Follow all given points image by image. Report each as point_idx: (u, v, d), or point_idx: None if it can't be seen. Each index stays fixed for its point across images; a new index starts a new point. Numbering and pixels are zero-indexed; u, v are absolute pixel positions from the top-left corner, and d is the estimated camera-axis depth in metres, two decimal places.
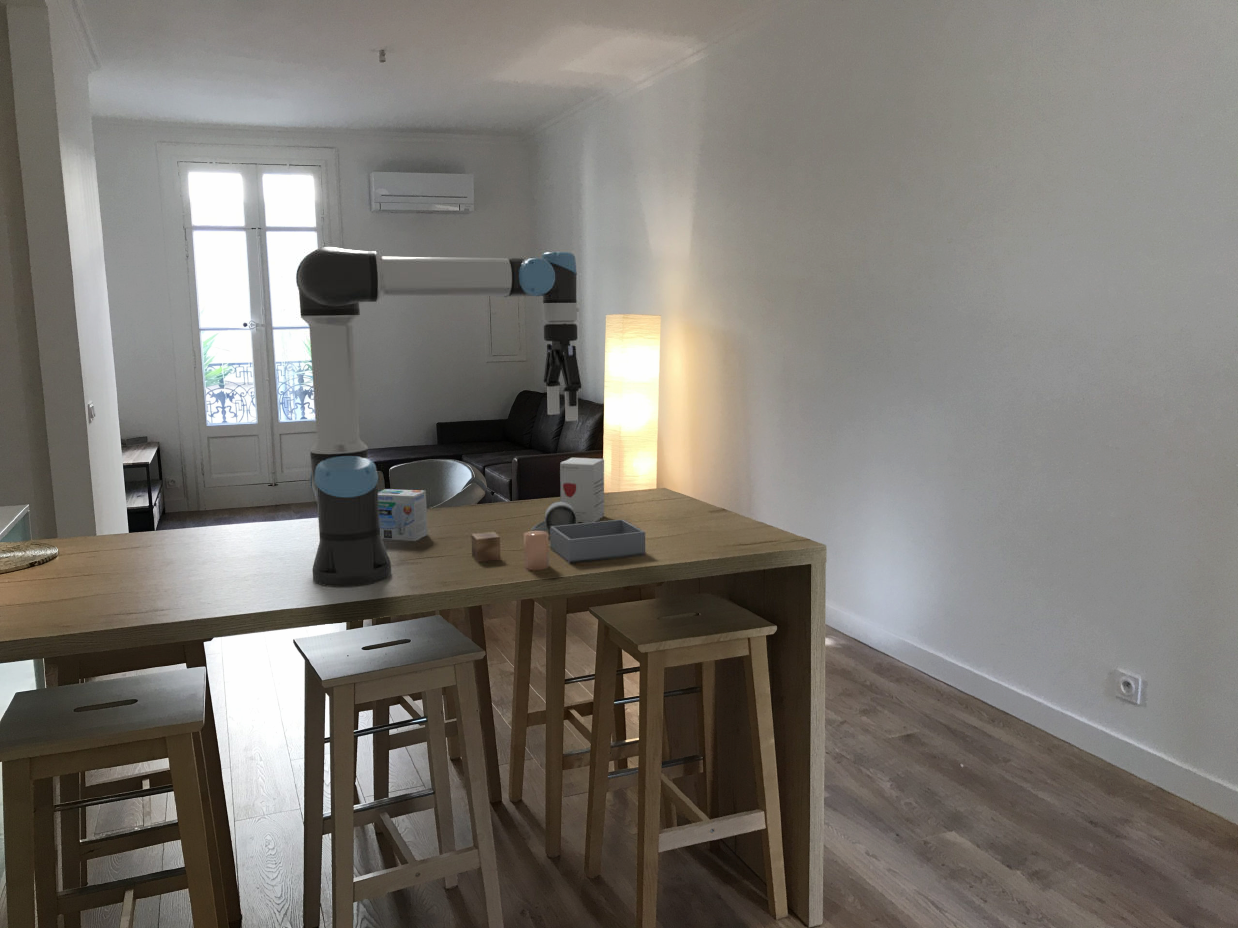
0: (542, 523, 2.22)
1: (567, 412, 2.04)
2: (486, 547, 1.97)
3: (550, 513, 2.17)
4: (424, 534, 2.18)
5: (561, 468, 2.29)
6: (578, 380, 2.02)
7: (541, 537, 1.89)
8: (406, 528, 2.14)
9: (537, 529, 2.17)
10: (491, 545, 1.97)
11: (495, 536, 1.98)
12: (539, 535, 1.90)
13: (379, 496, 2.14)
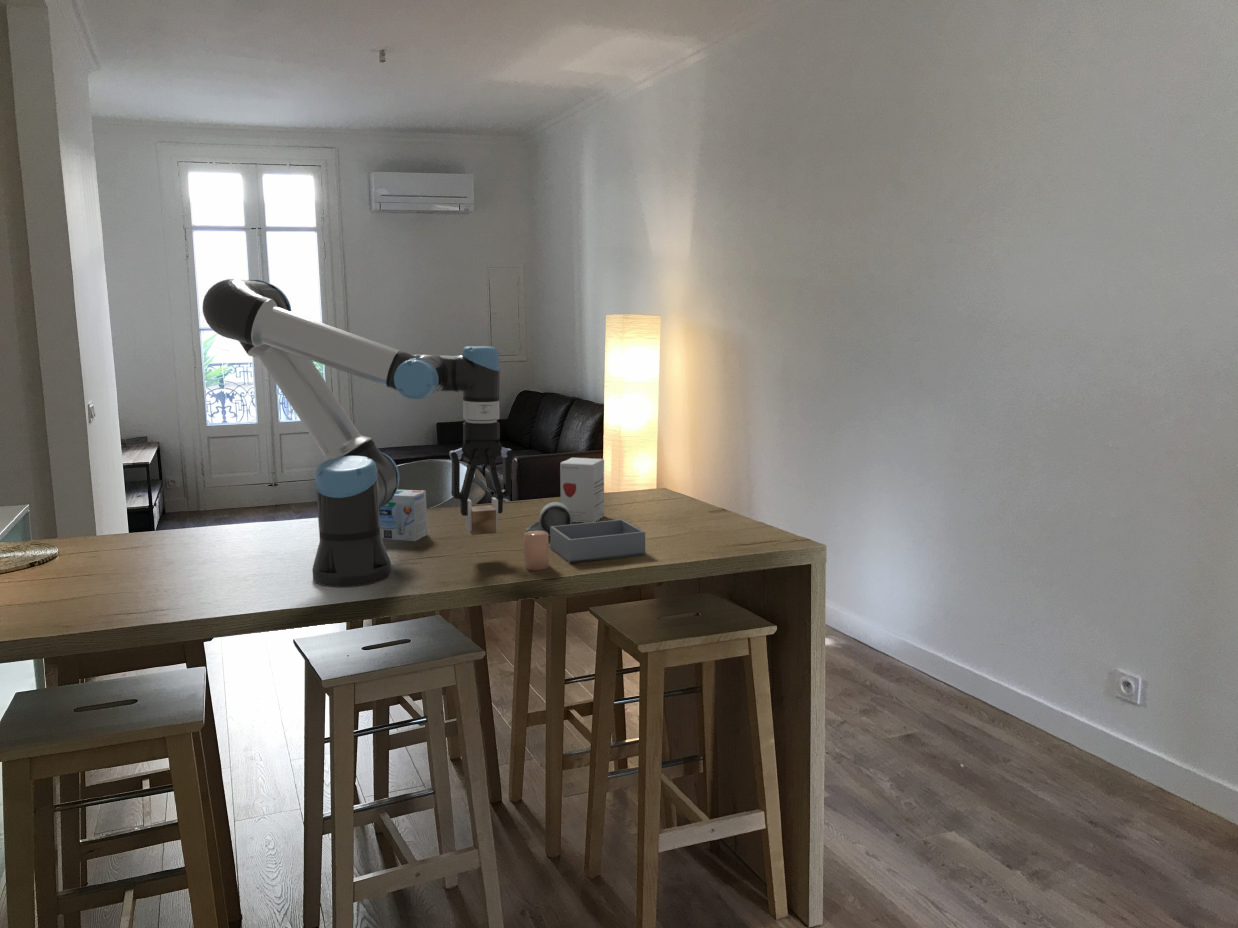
0: (537, 523, 2.22)
1: (465, 520, 1.98)
2: (482, 520, 1.95)
3: (545, 513, 2.17)
4: (424, 534, 2.18)
5: (561, 468, 2.29)
6: (453, 490, 1.94)
7: (541, 537, 1.89)
8: (406, 528, 2.14)
9: (532, 529, 2.17)
10: (487, 518, 1.96)
11: (491, 509, 1.97)
12: (539, 535, 1.90)
13: None
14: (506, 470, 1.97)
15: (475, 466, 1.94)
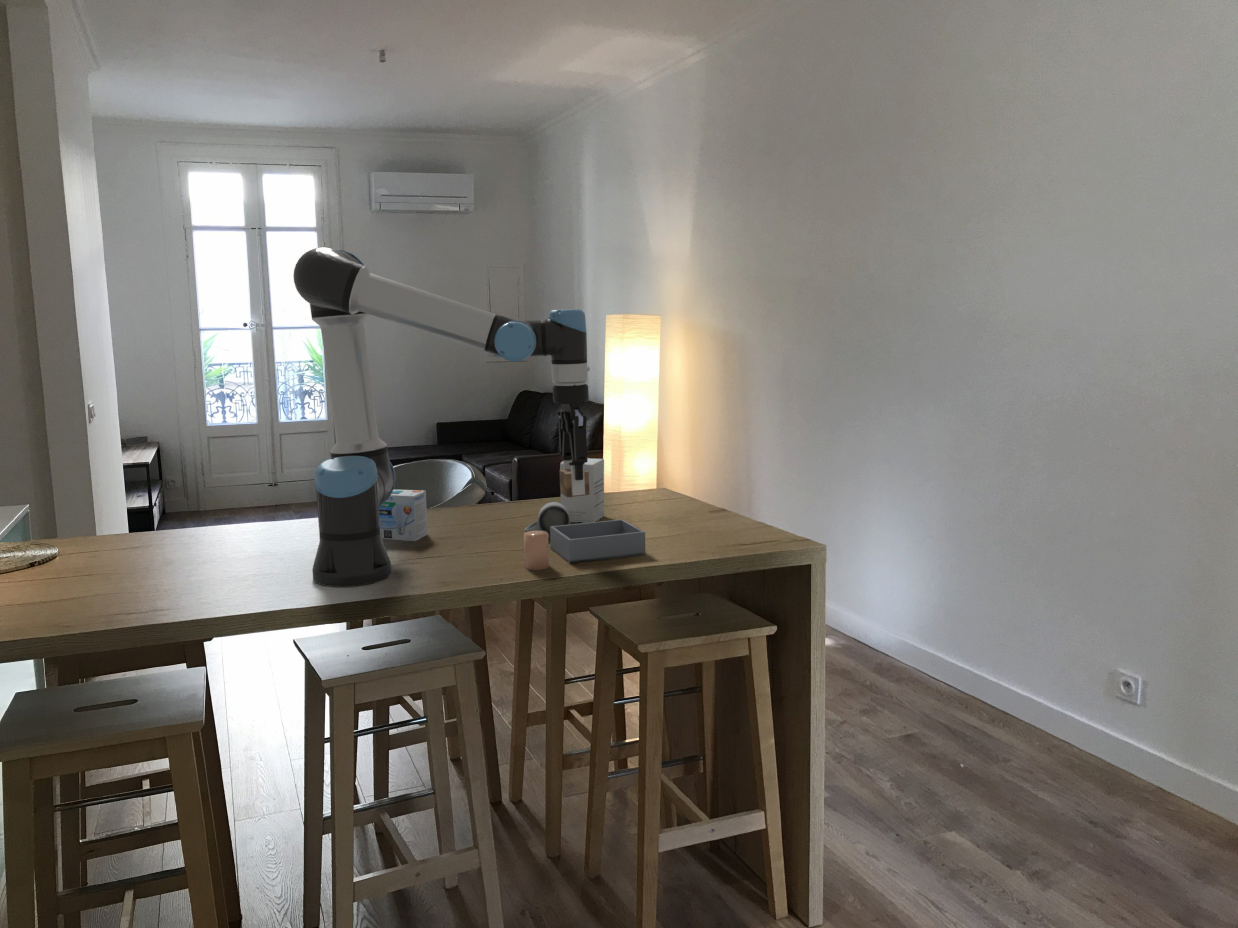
0: (536, 523, 2.22)
1: (573, 486, 1.96)
2: None
3: (543, 513, 2.17)
4: (424, 534, 2.18)
5: (561, 468, 2.29)
6: (585, 455, 1.92)
7: (541, 537, 1.89)
8: (406, 528, 2.14)
9: (530, 529, 2.16)
10: None
11: None
12: (539, 535, 1.90)
13: None
14: None
15: None
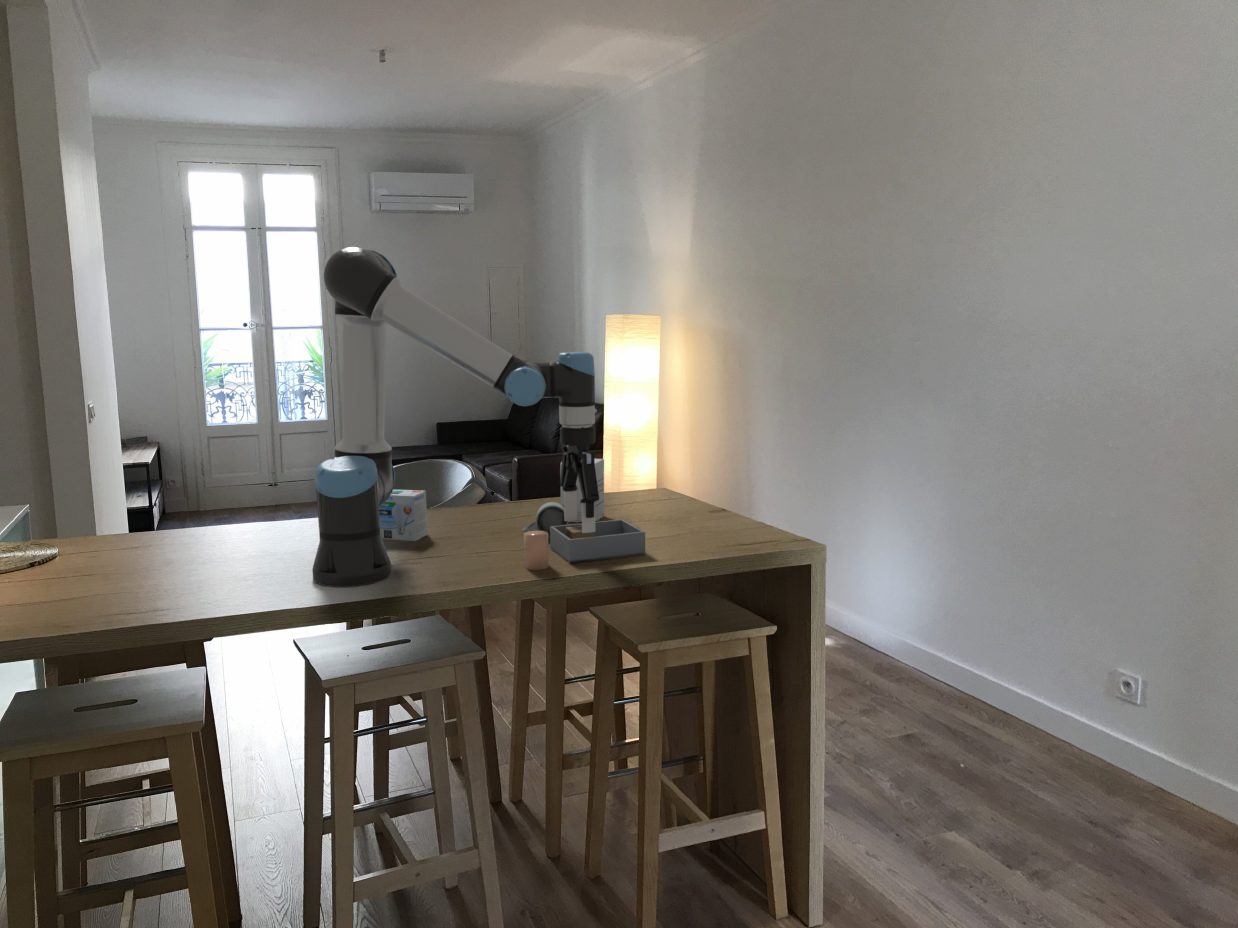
0: (534, 523, 2.21)
1: (584, 523, 1.94)
2: None
3: (541, 513, 2.17)
4: (424, 534, 2.18)
5: (561, 468, 2.29)
6: (596, 492, 1.91)
7: (541, 537, 1.89)
8: (406, 528, 2.14)
9: (528, 529, 2.16)
10: None
11: None
12: (539, 535, 1.90)
13: None
14: None
15: None
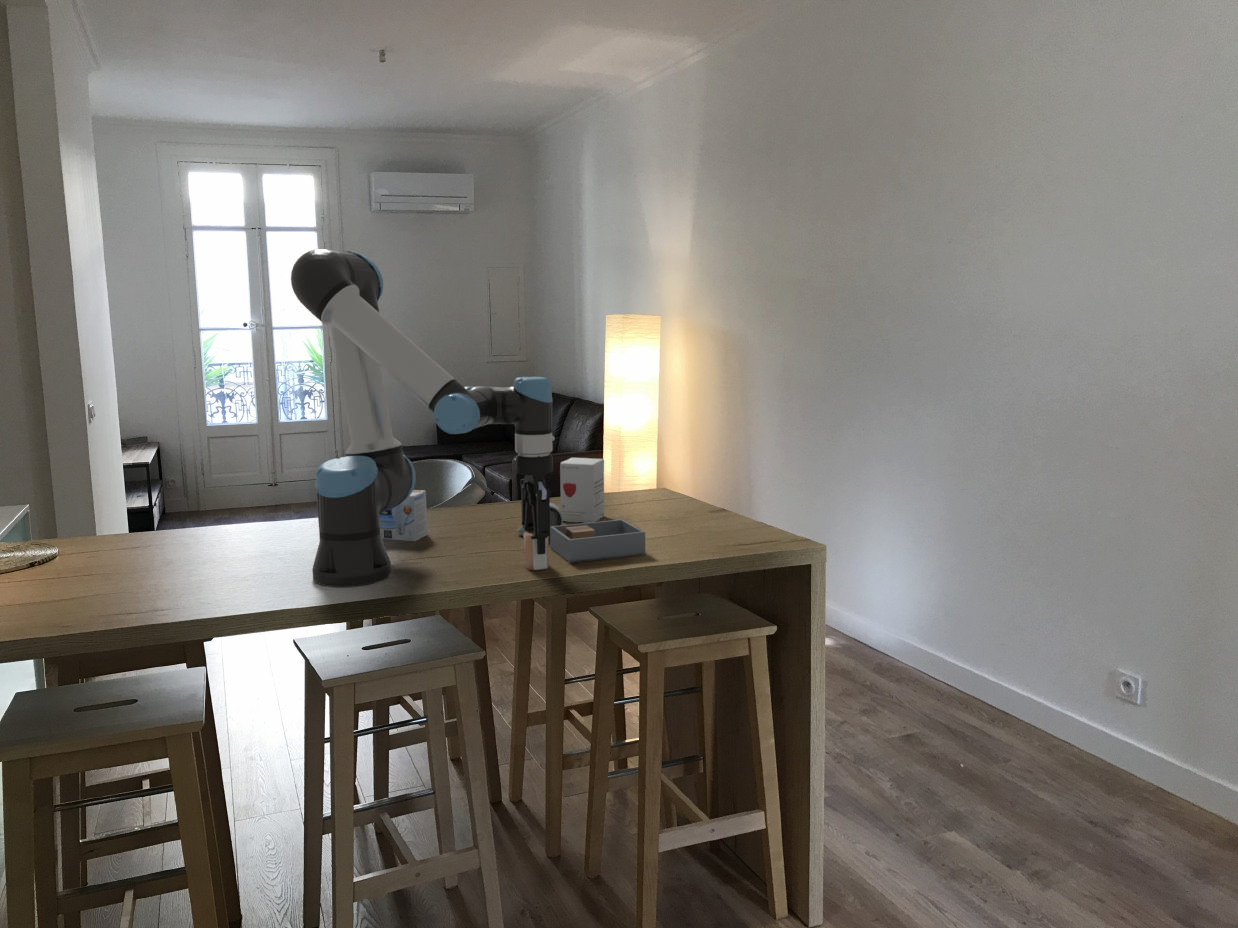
0: None
1: (535, 560, 1.88)
2: None
3: None
4: (424, 534, 2.18)
5: (561, 468, 2.29)
6: (548, 529, 1.85)
7: None
8: (406, 528, 2.14)
9: (523, 529, 2.16)
10: None
11: (584, 526, 2.03)
12: None
13: None
14: None
15: None
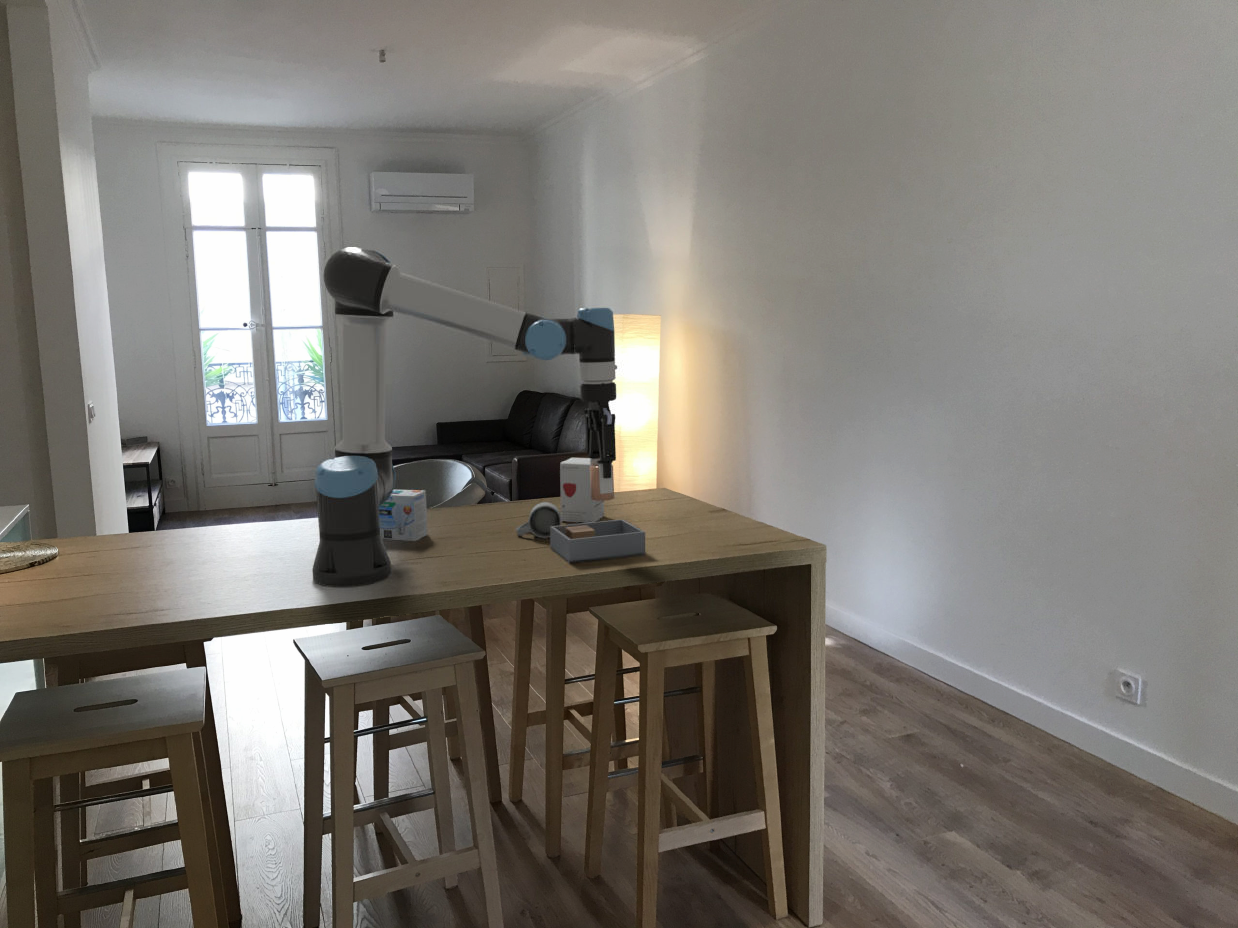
0: (527, 524, 2.21)
1: (601, 484, 1.96)
2: None
3: (534, 514, 2.17)
4: (424, 534, 2.18)
5: (561, 468, 2.29)
6: (613, 453, 1.93)
7: None
8: (406, 528, 2.14)
9: (521, 530, 2.16)
10: None
11: (584, 526, 2.03)
12: None
13: None
14: None
15: None
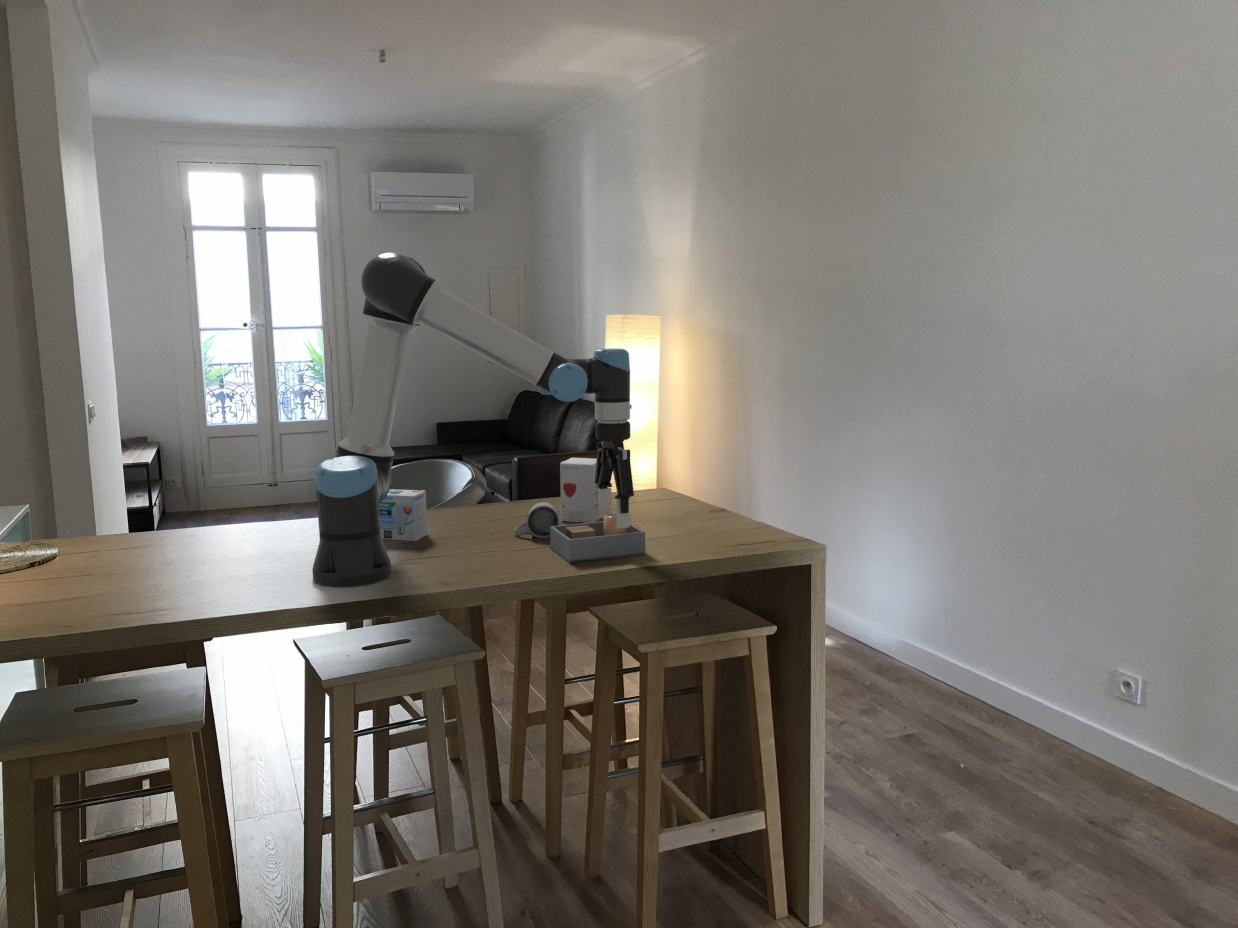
0: (525, 524, 2.21)
1: (618, 519, 1.98)
2: None
3: (532, 514, 2.17)
4: (424, 534, 2.18)
5: (561, 468, 2.29)
6: (631, 488, 1.95)
7: None
8: (406, 528, 2.14)
9: (519, 530, 2.16)
10: None
11: (584, 526, 2.03)
12: None
13: None
14: None
15: None
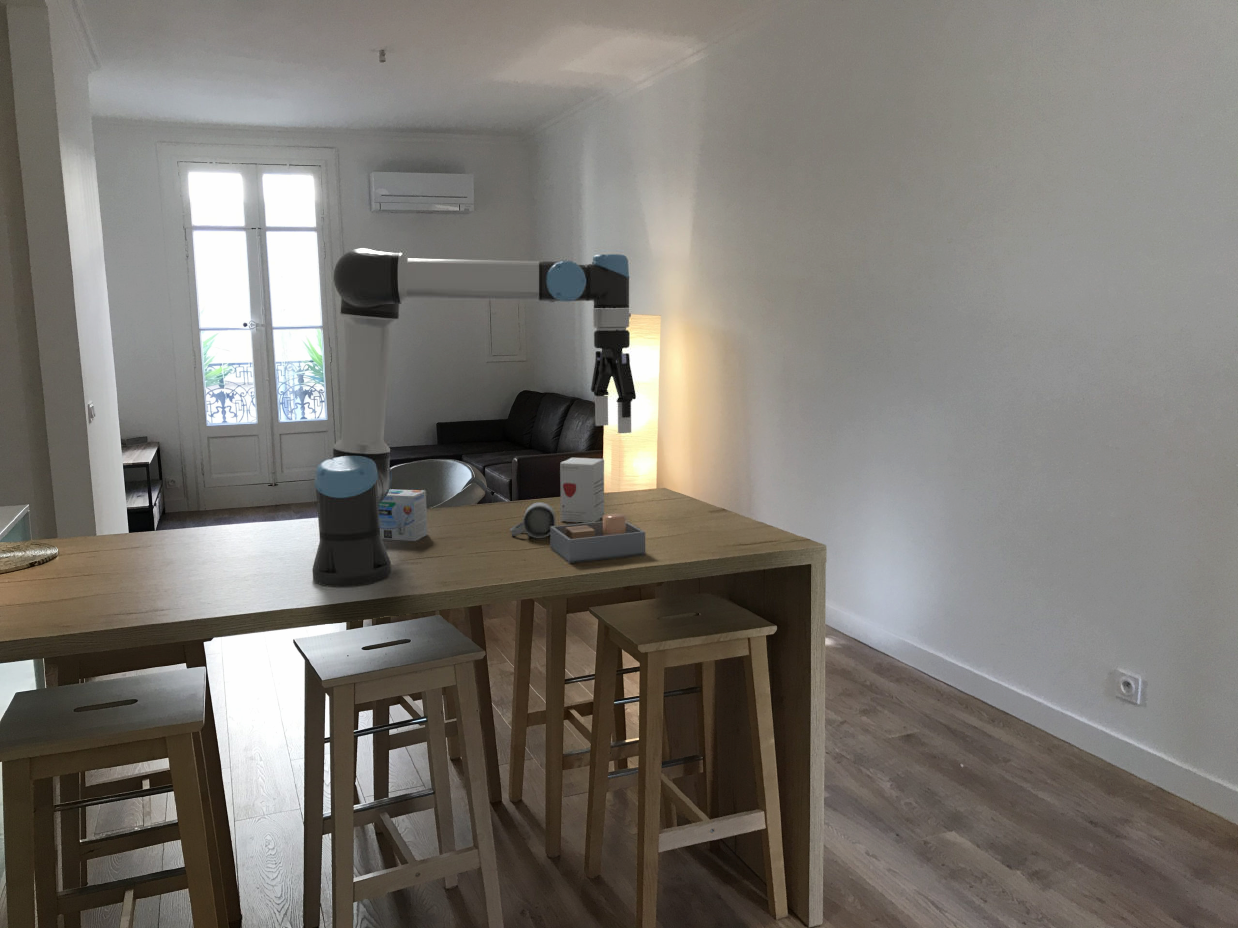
0: (522, 524, 2.21)
1: (620, 424, 1.93)
2: None
3: (529, 514, 2.17)
4: (424, 534, 2.18)
5: (561, 468, 2.29)
6: (632, 390, 1.90)
7: (620, 519, 2.02)
8: (406, 528, 2.14)
9: (515, 530, 2.16)
10: None
11: (584, 526, 2.03)
12: (618, 517, 2.02)
13: None
14: None
15: None
